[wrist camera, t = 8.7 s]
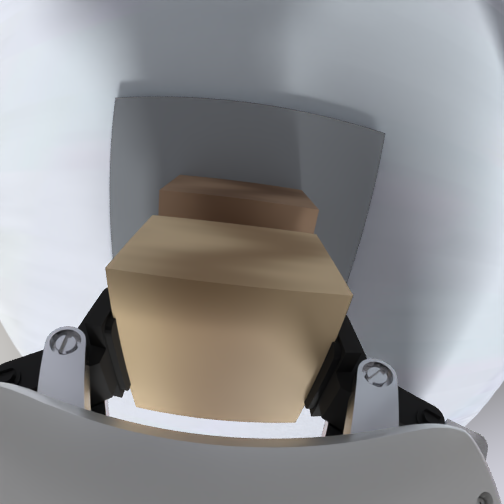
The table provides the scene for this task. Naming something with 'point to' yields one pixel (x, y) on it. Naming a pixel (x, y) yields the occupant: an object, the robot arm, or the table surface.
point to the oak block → (224, 317)
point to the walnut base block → (238, 203)
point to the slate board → (242, 161)
